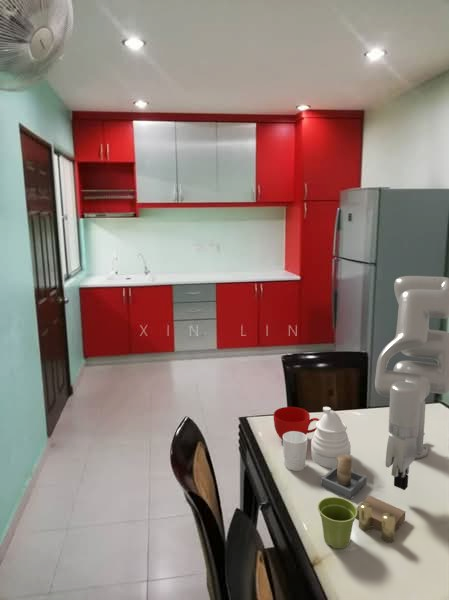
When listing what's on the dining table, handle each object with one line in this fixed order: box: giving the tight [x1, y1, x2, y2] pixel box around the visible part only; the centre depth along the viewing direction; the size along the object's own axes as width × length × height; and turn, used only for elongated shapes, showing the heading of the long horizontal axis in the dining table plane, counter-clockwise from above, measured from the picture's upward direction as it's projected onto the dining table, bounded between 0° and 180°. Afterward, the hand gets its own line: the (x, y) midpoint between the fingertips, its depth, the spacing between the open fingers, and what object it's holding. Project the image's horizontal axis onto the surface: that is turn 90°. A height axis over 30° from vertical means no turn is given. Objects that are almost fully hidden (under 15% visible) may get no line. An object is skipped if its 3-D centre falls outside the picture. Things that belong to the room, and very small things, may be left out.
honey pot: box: [310, 406, 352, 469], centre depth 141 cm, size 13×13×18 cm
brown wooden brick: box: [355, 495, 406, 534], centre depth 112 cm, size 8×10×3 cm
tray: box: [320, 466, 367, 500], centre depth 127 cm, size 10×10×2 cm
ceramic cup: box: [273, 406, 320, 441], centre depth 153 cm, size 13×17×10 cm
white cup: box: [282, 431, 308, 472], centre depth 137 cm, size 8×8×10 cm
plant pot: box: [317, 496, 357, 549], centre depth 104 cm, size 9×9×9 cm
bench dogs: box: [358, 501, 396, 544], centre depth 107 cm, size 3×9×6 cm, turn 45°
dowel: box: [337, 455, 353, 487], centre depth 126 cm, size 4×4×8 cm
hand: (400, 486), depth 119 cm, fingers closed
